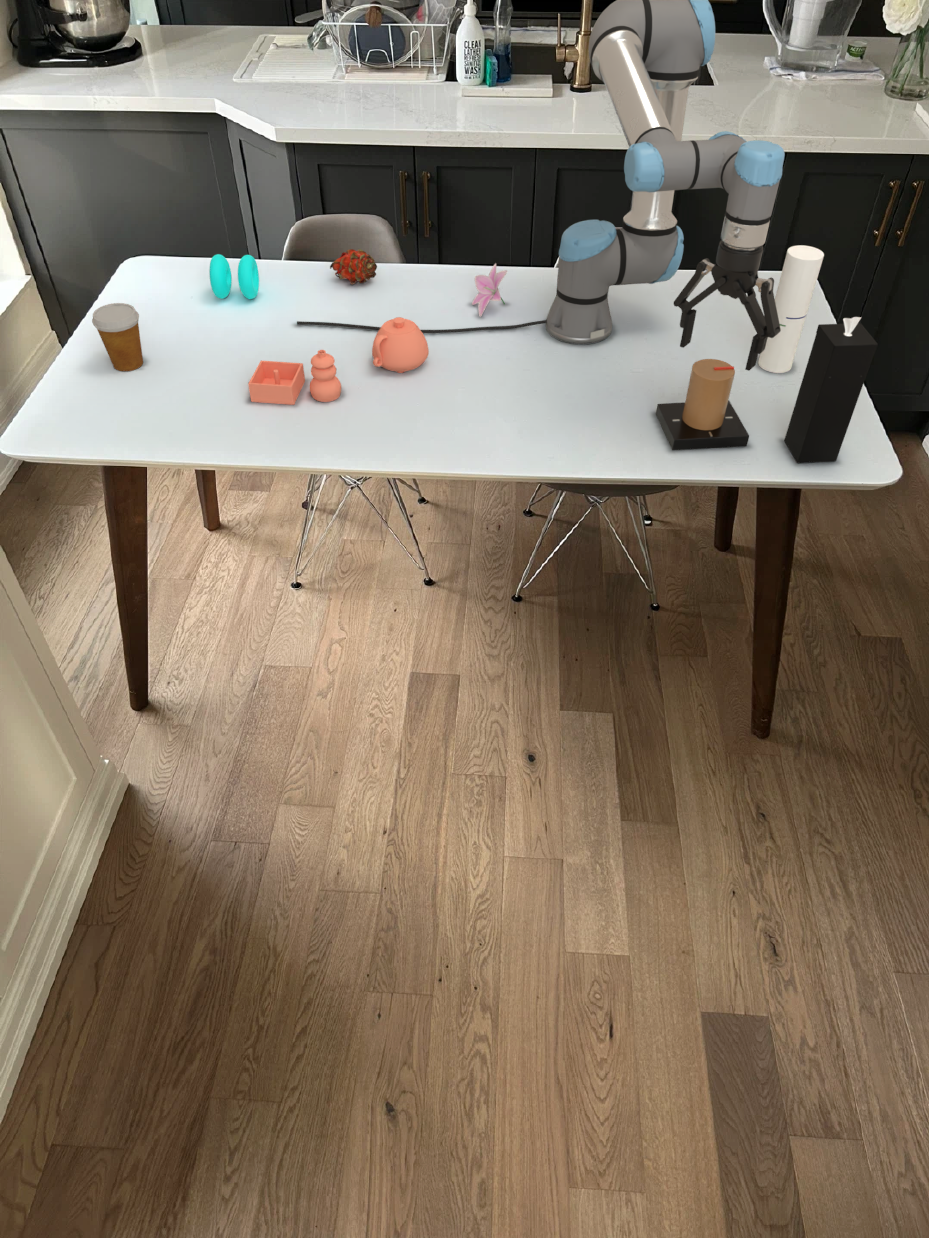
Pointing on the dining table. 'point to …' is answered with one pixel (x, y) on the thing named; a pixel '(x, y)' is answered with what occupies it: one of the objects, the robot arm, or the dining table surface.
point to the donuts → (223, 279)
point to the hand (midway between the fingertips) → (717, 356)
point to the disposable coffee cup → (120, 335)
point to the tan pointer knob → (708, 394)
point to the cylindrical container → (792, 306)
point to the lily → (488, 288)
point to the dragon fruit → (354, 266)
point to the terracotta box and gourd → (294, 381)
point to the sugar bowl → (399, 346)
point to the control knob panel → (692, 438)
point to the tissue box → (829, 390)
